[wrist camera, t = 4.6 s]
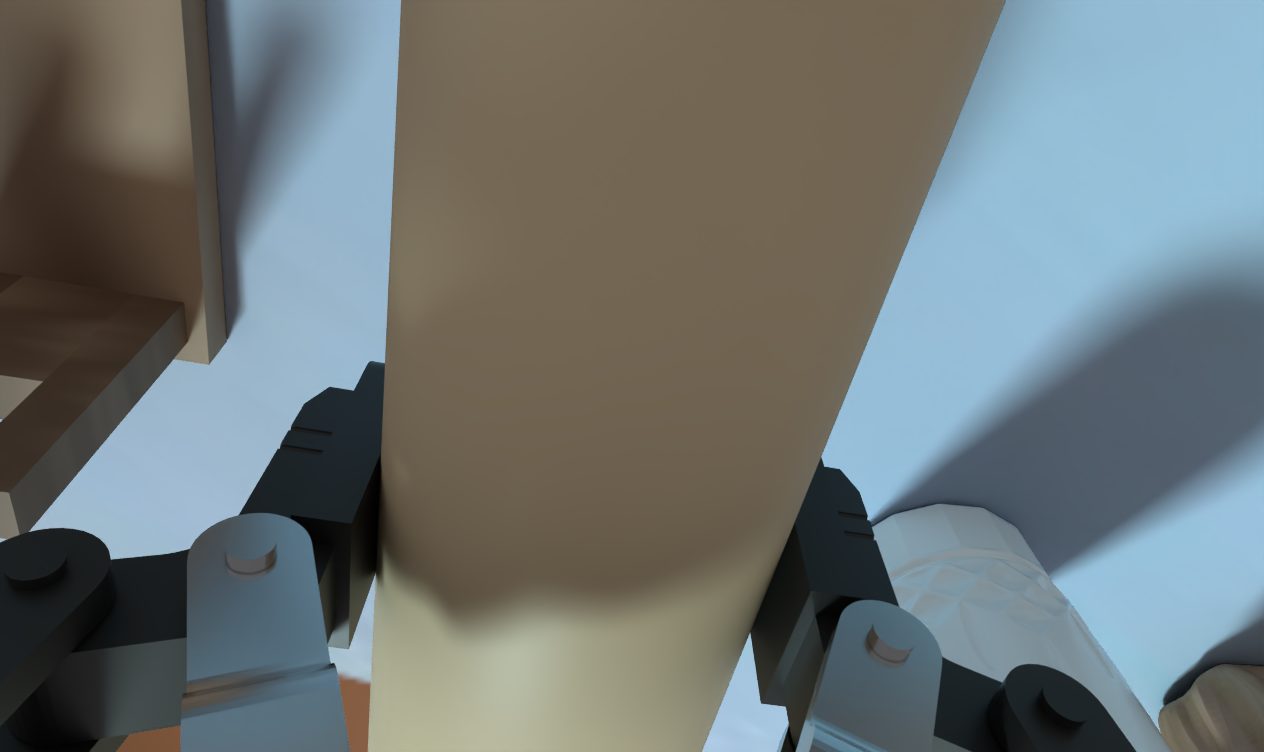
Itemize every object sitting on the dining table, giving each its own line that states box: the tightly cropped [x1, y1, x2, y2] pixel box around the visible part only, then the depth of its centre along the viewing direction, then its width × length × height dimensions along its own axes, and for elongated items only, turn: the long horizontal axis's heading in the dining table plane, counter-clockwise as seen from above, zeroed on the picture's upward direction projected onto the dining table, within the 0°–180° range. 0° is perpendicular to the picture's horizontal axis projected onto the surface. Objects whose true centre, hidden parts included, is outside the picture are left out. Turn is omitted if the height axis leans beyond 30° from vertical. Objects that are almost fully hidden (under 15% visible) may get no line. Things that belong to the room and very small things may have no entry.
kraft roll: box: [368, 0, 1006, 752], centre depth 12 cm, size 6×20×6 cm, turn 169°
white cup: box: [872, 504, 1173, 752], centre depth 25 cm, size 8×8×10 cm
